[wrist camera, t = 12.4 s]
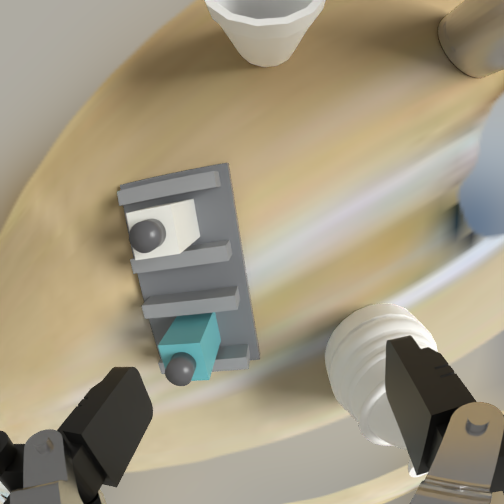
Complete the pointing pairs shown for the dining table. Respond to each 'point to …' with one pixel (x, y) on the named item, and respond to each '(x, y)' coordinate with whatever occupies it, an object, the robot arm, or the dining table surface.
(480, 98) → the dining table surface
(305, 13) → the foam cup
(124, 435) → the robot arm
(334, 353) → the honey pot
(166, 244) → the white plug
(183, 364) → the teal plug
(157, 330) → the comb board
